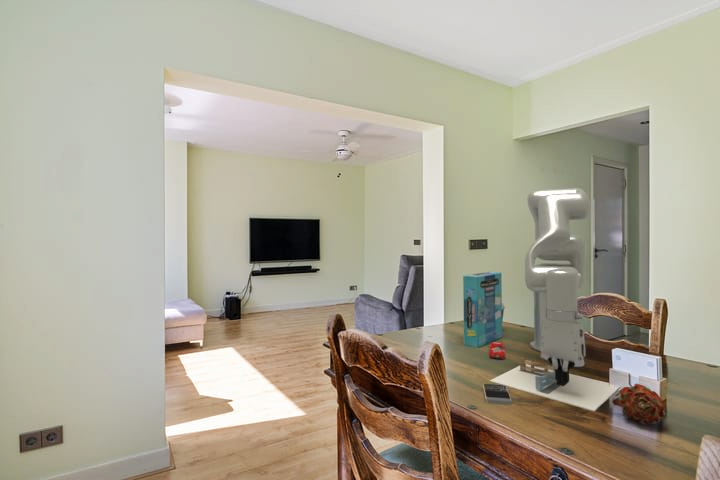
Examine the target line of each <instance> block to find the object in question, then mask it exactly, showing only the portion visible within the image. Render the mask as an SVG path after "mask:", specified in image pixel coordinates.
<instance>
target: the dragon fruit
mask: <svg viewBox="0 0 720 480" xmlns="http://www.w3.org/2000/svg"><path fill="white" fill-rule="evenodd" d="M618 390H619V392H618V393H617V392H615V395H614V396H616V398H614V397H611V403H612V404H613V406H617V407H620V408H622V414H623V416H625V417H626V418H628V419H629V420H630V419H631V420H634V421H635V422H637V423H639V424H642V425H645V426H647V425H649V424H657V423H659V421H660V418H664V417H667V415H666V409H665V406H664V404H662V403H663V399H662V397H660V396H659V394H658V393H657V392H656V391H655V390H651V388H649V387H648V386H645V385H644V384H640V383H635V384H634V385H633V386H624V387H621V388H619V389H618ZM619 395H620V396H619ZM617 396H618V397H617Z"/></svg>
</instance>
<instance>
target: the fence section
mask: <svg viewBox="0 0 720 480" xmlns="http://www.w3.org/2000/svg"><path fill="white" fill-rule="evenodd" d="M526 364H527V365H531V367H528V366H526ZM519 366H520V370H521V371H525V370H530V371H531V373H534V372H539V373H543V374H544V375H546V374H549V373H551V372H549V371H548V370H553V371H555V369H554V368H553V365H549V364H548V363H542V362H541V363H540V362H536V361H534V360H526V358H525V357H520V358H519ZM534 366H536V367H540V368H544V370H541V369H537V368H534Z"/></svg>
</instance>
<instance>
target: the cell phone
mask: <svg viewBox="0 0 720 480" xmlns="http://www.w3.org/2000/svg"><path fill="white" fill-rule="evenodd" d="M482 388H483V393H484V397H485V401H486V403H487V404H492V405H505V406H510V405H512V398H511V396H510V393H509V390H508V387H507V386H503V385H500V384H494V383H493V384H492V383H491V384H489V383H484V384H482Z"/></svg>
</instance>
